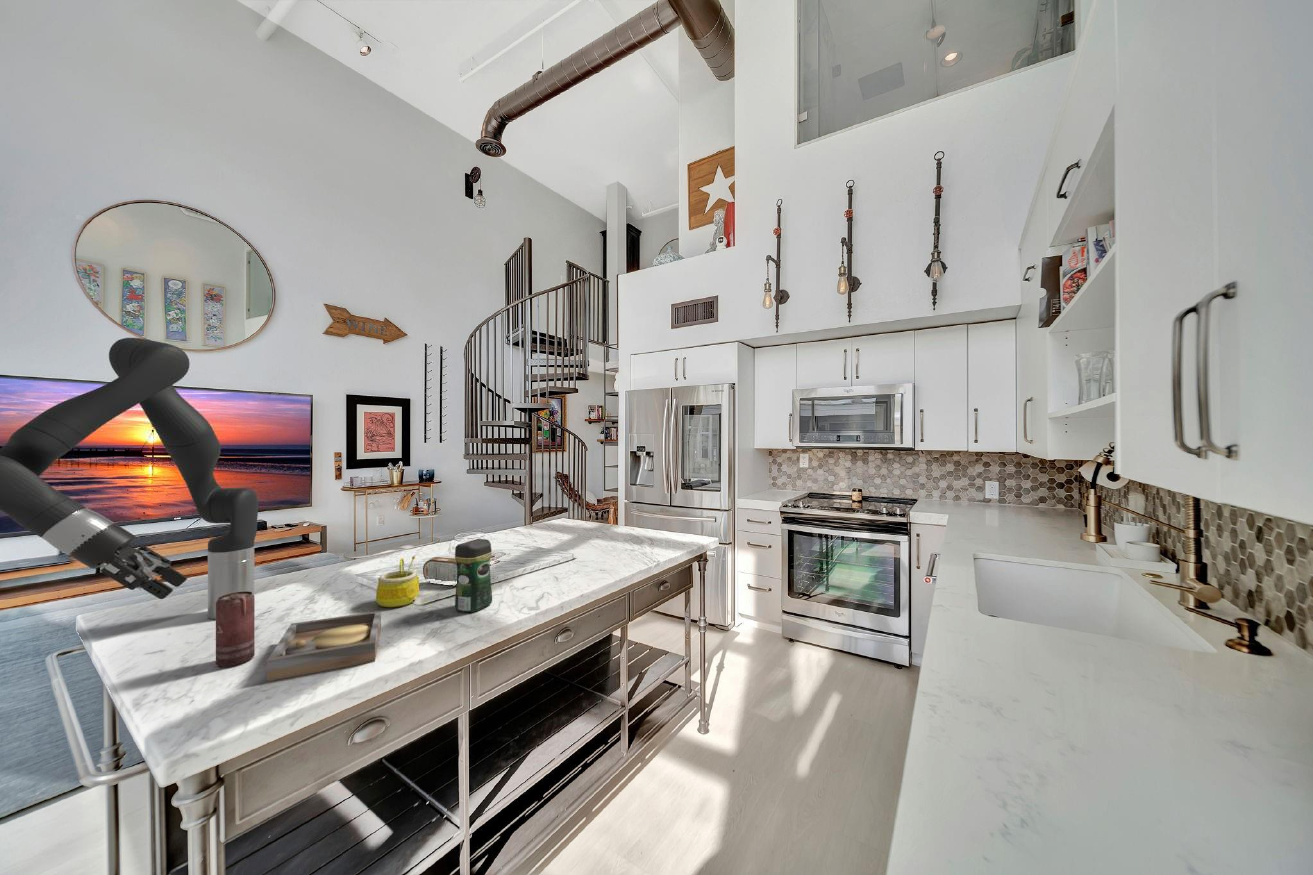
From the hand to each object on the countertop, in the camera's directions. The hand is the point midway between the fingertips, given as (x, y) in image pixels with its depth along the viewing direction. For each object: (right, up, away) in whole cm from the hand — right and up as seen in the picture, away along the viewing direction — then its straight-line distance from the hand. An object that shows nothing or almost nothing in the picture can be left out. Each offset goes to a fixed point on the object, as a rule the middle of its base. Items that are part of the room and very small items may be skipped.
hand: (175, 588), depth 94 cm
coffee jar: (+45, -17, +37) cm, 61 cm away
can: (+8, -17, +5) cm, 19 cm away
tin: (+28, -17, +56) cm, 65 cm away
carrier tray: (+24, -17, +10) cm, 31 cm away
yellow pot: (+23, -17, +41) cm, 50 cm away
